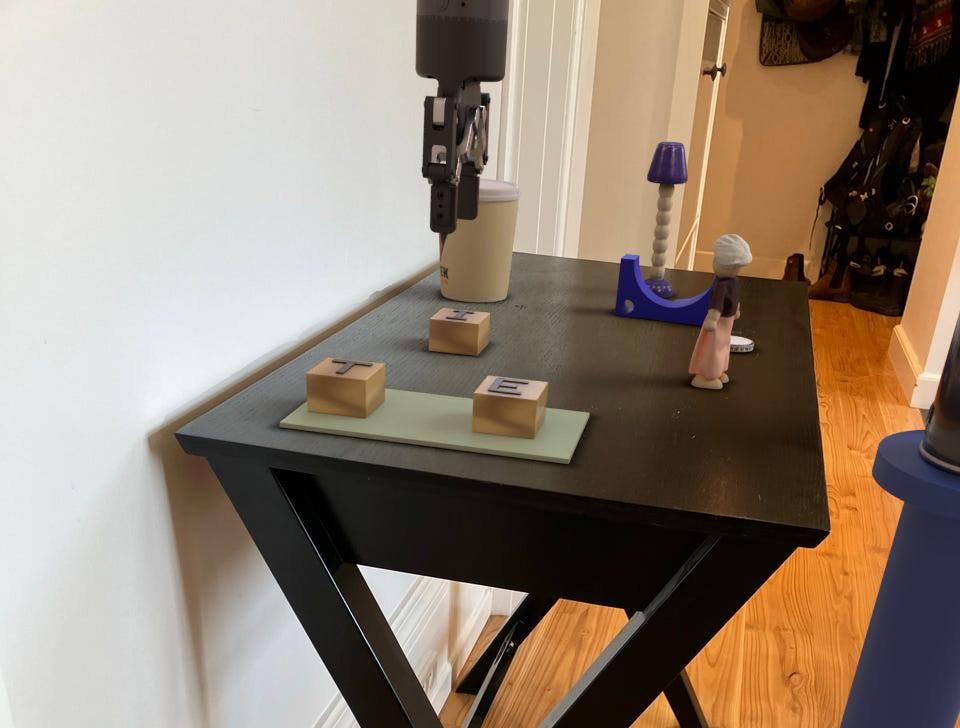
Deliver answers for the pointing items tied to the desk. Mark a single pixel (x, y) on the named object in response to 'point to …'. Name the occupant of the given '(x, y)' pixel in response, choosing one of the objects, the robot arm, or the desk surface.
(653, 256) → the toy lamp
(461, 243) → the coffee cup
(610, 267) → the desk surface
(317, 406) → the tile
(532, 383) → the tile
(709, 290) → the blue curved cradle
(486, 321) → the tile
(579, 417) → the word mat
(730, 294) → the grandmother figurine
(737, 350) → the washi tape
